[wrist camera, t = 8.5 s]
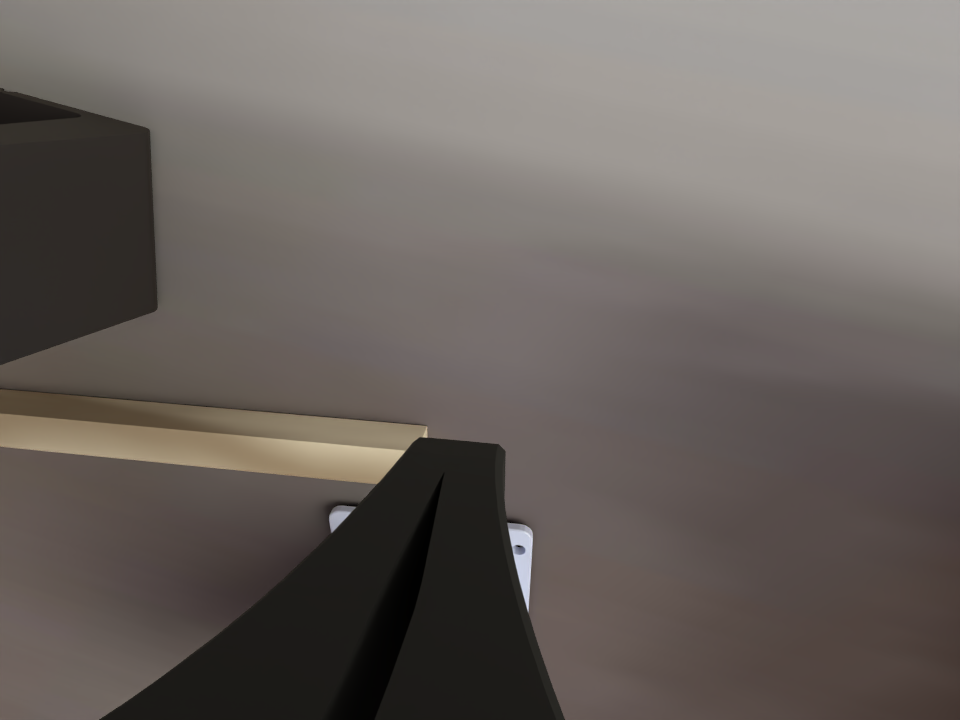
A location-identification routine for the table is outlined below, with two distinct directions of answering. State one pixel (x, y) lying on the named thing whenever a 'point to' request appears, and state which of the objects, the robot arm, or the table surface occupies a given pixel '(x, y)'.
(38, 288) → the phone stand
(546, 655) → the table surface
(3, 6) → the table surface
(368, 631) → the robot arm
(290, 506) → the table surface
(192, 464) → the bar
